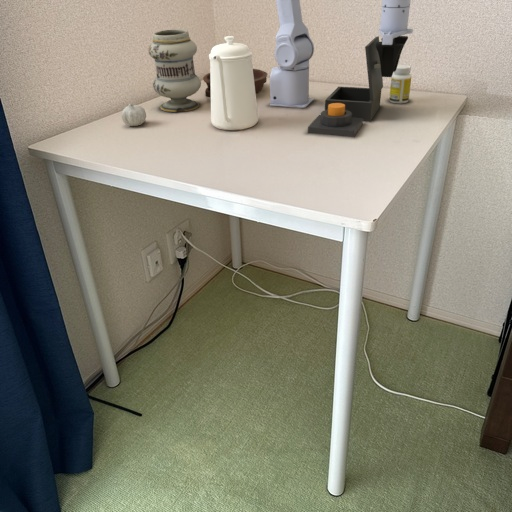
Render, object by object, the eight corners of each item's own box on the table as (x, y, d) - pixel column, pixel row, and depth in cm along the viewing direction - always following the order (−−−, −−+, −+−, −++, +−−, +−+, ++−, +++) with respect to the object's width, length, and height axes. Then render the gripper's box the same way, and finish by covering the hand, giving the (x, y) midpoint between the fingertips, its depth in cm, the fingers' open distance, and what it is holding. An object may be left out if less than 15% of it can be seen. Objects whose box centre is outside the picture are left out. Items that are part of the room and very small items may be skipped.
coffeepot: (195, 142, 104) (185, 47, 93) (225, 108, 124) (219, 28, 114) (245, 144, 101) (240, 47, 91) (267, 109, 122) (265, 27, 112)
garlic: (134, 130, 112) (130, 107, 110) (118, 126, 115) (114, 104, 112) (152, 122, 117) (149, 100, 114) (136, 119, 119) (132, 98, 116)
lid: (364, 46, 103) (386, 42, 101) (375, 36, 112) (395, 33, 111) (370, 101, 108) (391, 98, 106) (380, 87, 118) (399, 84, 116)
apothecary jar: (159, 116, 121) (147, 37, 111) (154, 103, 131) (142, 30, 121) (207, 110, 124) (200, 32, 114) (198, 98, 133) (191, 26, 124)
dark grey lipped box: (324, 118, 114) (325, 99, 112) (337, 103, 124) (338, 86, 121) (370, 122, 110) (371, 102, 108) (379, 106, 120) (381, 88, 118)
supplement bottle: (406, 98, 125) (411, 64, 121) (409, 103, 121) (414, 68, 117) (387, 98, 126) (391, 64, 121) (390, 104, 122) (393, 68, 117)
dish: (185, 97, 135) (183, 78, 132) (241, 81, 148) (240, 63, 146) (230, 107, 125) (229, 87, 122) (285, 89, 138) (285, 70, 135)
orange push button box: (307, 133, 106) (308, 117, 104) (319, 121, 113) (319, 105, 111) (353, 137, 102) (354, 121, 100) (362, 124, 109) (363, 108, 107)
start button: (325, 116, 105) (326, 107, 104) (330, 111, 108) (330, 102, 107) (342, 117, 104) (343, 108, 103) (346, 112, 107) (346, 103, 105)
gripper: (411, 10, 95) (402, 82, 103) (419, 2, 107) (411, 67, 114) (374, 10, 98) (368, 80, 105) (386, 2, 109) (380, 66, 116)
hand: (388, 73), depth 110 cm, fingers closed on lid, 5 cm apart
